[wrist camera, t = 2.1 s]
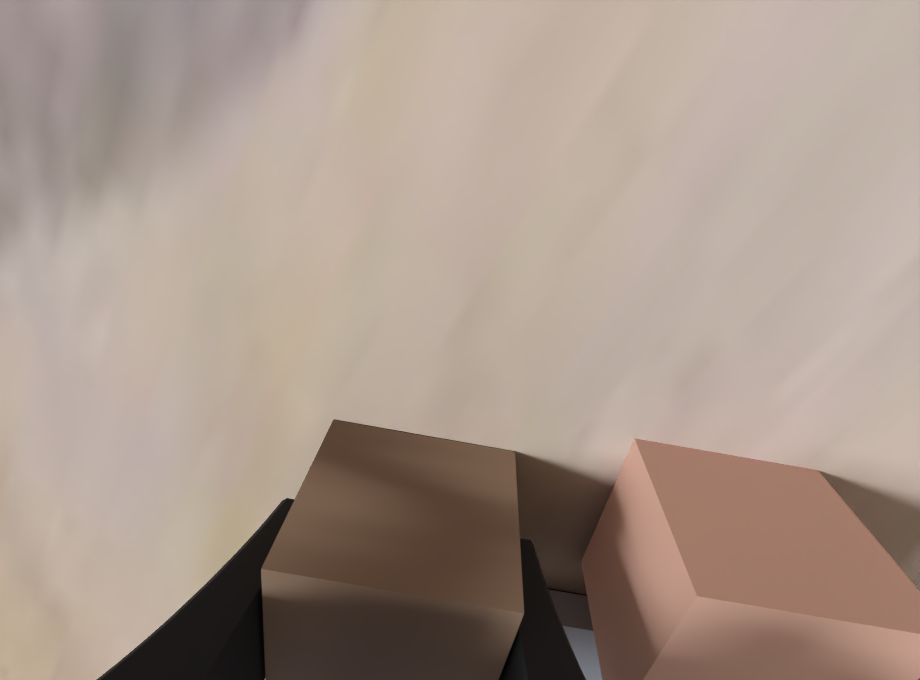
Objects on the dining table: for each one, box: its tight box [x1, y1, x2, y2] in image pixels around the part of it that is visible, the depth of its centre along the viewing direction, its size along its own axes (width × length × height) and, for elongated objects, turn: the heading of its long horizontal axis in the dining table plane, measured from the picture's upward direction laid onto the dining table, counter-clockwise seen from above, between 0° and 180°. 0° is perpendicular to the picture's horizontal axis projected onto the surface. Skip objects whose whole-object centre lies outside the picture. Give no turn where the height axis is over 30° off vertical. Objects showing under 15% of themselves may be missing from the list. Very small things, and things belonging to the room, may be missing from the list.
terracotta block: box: [581, 439, 920, 680], centre depth 10 cm, size 4×4×4 cm
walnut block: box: [261, 420, 524, 680], centre depth 11 cm, size 4×4×4 cm
